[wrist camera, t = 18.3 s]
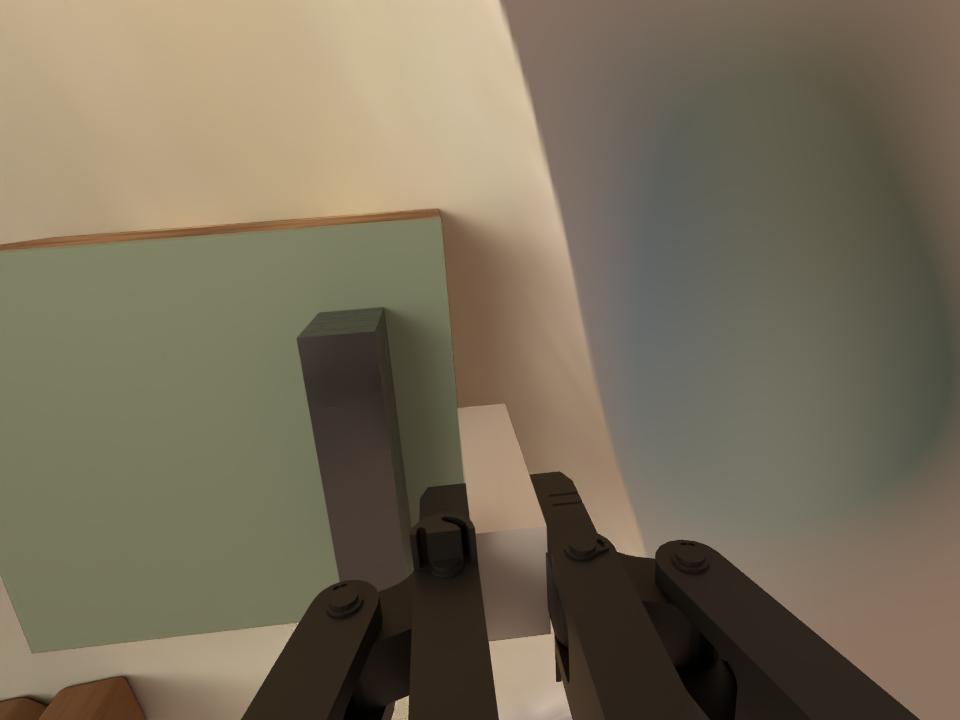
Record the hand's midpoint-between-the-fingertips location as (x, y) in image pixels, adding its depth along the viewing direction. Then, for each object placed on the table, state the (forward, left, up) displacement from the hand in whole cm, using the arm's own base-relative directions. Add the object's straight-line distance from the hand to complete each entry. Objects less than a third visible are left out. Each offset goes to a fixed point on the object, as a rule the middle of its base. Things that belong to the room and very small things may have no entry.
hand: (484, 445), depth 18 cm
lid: (-9, 0, -2) cm, 9 cm away
